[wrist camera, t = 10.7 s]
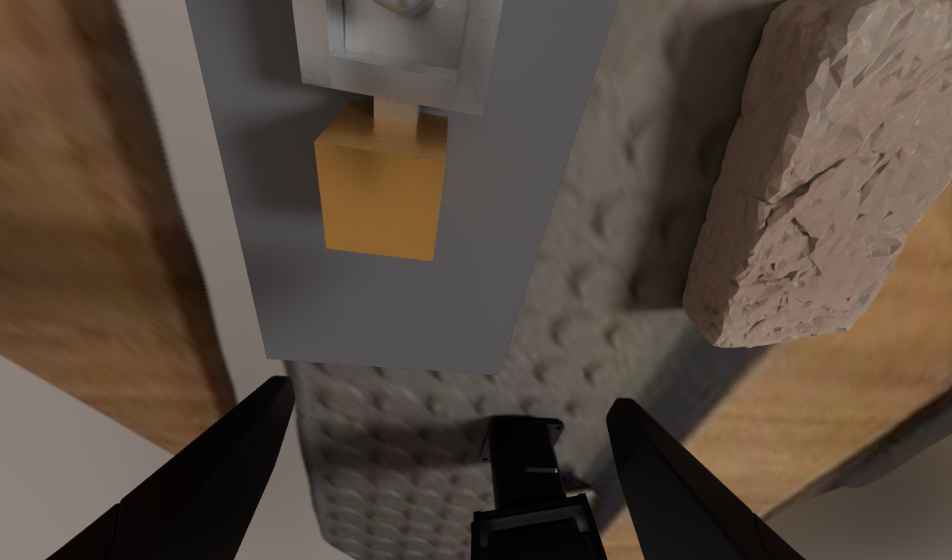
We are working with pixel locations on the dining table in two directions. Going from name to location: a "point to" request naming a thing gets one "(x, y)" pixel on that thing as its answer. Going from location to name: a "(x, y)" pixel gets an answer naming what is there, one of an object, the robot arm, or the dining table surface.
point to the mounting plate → (462, 201)
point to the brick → (824, 169)
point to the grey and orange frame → (388, 130)
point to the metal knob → (407, 29)
